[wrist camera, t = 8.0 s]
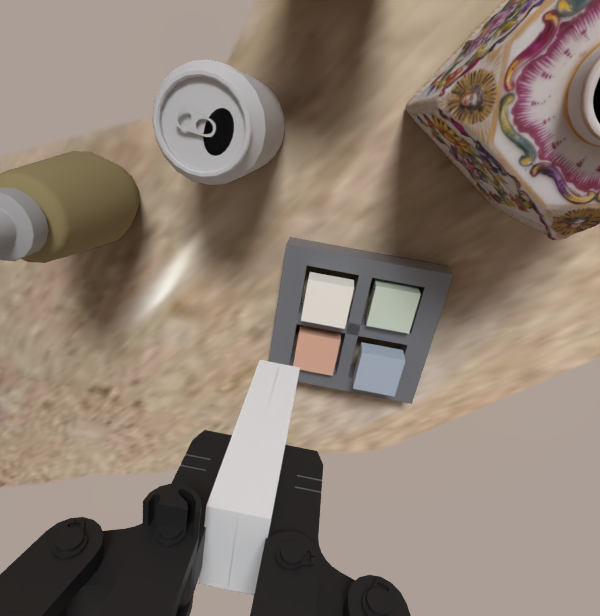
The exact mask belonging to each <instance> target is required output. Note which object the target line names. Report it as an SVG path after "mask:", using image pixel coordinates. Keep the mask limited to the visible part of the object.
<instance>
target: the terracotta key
mask: <svg viewBox="0 0 600 616" xmlns="http://www.w3.org/2000/svg"><path fill="white" fill-rule="evenodd" d="M340 341H341V332H335V331H330V330H325V329H319V328H314V327H309V326H304V325H301V326H300V331H299V336H298V341H297V347H296V352H295V358H294V363H293V366H295V367H300V370H305V371H310V372H315V373H320V374H325V375H331V376H333V372H334V368H335V363H336V359H337V354H338V350H339V345H340Z"/></svg>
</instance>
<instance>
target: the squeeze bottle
mask: <svg viewBox="0 0 600 616" xmlns="http://www.w3.org/2000/svg"><path fill="white" fill-rule="evenodd" d="M139 202H140V200H139V192H138V188H137V186H136V184H135V182H134V180H133V178H132V176H131V175H130V174H129V173H128V172H127V171H126V170H125V169H124V168H122V167H121V166H119V165H117V164H115V163H113V162H111V161H109V160H107V159H105V158H103V157H101V156H98V155H96V154H94V153H92V152H79V151H72V152H69V153H65V154H62V155H59V156H55V157H52V158H48V159H45V160H42V161H38V162H35V163H32V164H28V165H25V166H22V167H18V168H15V169H11V170H8V171H6V172H3V173H1V174H0V260H7V261H16V260H18V259H23V260H25V261H28V262H41V263H46V262H49V261H52V260H56V259H59V258H62V257H66V256H69V255H73V254H76V253H79V252H83V251H86V250H89V249H93V248H96V247H100V246H103V245H106V244H109V243H111V242H114V241H116V240H119V239H120V238H121V237H122V236H123V235H124V234H125V233H126V231H127V230H128V229H129V228H130V227H131V224H132V222H133V220H134V217H135V215H136V213H137V209H138V206H139Z"/></svg>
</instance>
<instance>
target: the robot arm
mask: <svg viewBox="0 0 600 616" xmlns="http://www.w3.org/2000/svg"><path fill="white" fill-rule="evenodd" d="M299 371H300V367H295V366H289V365H284V364H279V363H274V362H269V361H263V360H260V361H259V364H258V366H257V369H256V372H255V374H254V377H253V380H252V383H251V385H250V388H249V391H248V394H247V396H246V399H245V402H244V404H243V407H242V410H241V413H240V415H239V418H238V421H237V424H236V426H235V429H234V432H233V434H232V435H227V434H222V433H217V432H212V431H207V430H204V431H203V432H202V433H201V434H199V435H198V436H197V437H196V438H195V439H193V440H192V442H191V444H190V446H189V449H188V451H187V453H186V456H185V457H184V459H183V461H182V463H181V466H180V467H179V469H178V471H177V473H176V475H175V477H174V479H173V481H172V483H171V484H168V485H164V486H160V487H158V488H157V489H155V490H153V491H152V492H150V493H149V494H148V496H147V497H146V498H145V499H144V501H143V523H142V524H140V525H138V526H135V527H131V528H126V529H119V530H109V531H102V529H101V526H100V525H99V524H97V523H96V522H95V521H94V520H92V519H88V518H84V517H79V518H70V519H68V520H65V521H62V522H59V523H57V524H56V525H55V526H53V527H52V528H50V529H49V530H47V531H46V532H45V533H44V534H43V535H42V536H41V537H40V538H39V539H38V540H37V541H35V542H34V543H33V544H32V545H31V546H30V547H29V548H28V549H27V550H26V551H25V552H24V553H23V554H22V555H21V556H20V557H18V558H17V559H16V560H15V561H14V562H13V563H12V564H11V565H10V566H9V567H8V568H7V569H6V570H5V571H4V572H3V573H1V574H0V616H189V615H190V612H191V609H192V602H193V593H194V590H195V587H196V584H197V581H198V578H199V584H204V585H209V586H214V587H218V588H224V589H228V590H233V591H238V592H243V593H247V594H252V595H254V599H253V604H252V609H251V614H250V616H410V613H409V610H408V607H407V604H406V602H405V600H404V598H403V596H402V594H401V593H400V591H399V590H398V589H397V588H396V587H395V586H394V585H393V584H392V583H391V582H389V581H387V580H385V579H383V578H382V577H378V576H372V575H367V576H363V577H359V578H358V579H357V580H356V581H355V580H353V579H351V578H350V577H348V576H346V575H344V574H342V573H341V572H339V571H338V570H336V569H335V568H333V567H332V566H331V565H330V564H329V563H328V562H327V561H326V559H325V558H324V556H323V554H322V553H321V550H320V547H319V543H318V531H319V517H320V503H321V502H320V501H321V488H322V473H323V464H322V461H321V459H320V456H319V454H318V452H317V451H314V450H308V449H303V448H298V447H293V446H288V445H286V440H287V435H288V429H289V424H290V419H291V413H292V408H293V403H294V397H295V392H296V387H297V381H298V376H299Z"/></svg>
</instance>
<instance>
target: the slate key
mask: <svg viewBox="0 0 600 616" xmlns="http://www.w3.org/2000/svg"><path fill="white" fill-rule="evenodd" d="M404 364H405V357H404V353H403V350H400V349H395V348H390V347H384V346H379V345H374V344H368V343H363V342H361V346H360V350H359V354H358V358H357V362H356V366H355V370H354V374H353V389H357V390H363V391H368V392H373V393H378V394H383V395H389V396H394V397H395V394H396V390H397V387H398V384H399V380H400V377H401V374H402V371H403V367H404Z"/></svg>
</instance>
